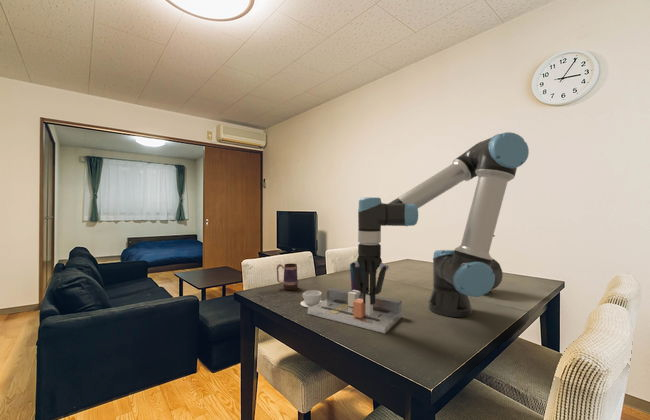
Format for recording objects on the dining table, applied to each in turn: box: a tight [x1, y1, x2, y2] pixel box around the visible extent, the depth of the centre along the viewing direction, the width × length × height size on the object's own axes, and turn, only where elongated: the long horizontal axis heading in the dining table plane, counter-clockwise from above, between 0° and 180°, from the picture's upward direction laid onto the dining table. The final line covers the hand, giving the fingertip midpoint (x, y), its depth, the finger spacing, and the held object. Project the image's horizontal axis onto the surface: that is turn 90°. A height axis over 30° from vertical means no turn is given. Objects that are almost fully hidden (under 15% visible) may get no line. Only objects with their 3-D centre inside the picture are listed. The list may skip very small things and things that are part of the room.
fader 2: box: [353, 298, 366, 318], centre depth 99 cm, size 3×4×5 cm
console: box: [307, 287, 403, 334], centre depth 105 cm, size 30×16×6 cm, turn 57°
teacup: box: [299, 289, 323, 308], centre depth 118 cm, size 10×10×5 cm
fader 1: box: [348, 290, 360, 307], centre depth 109 cm, size 3×4×5 cm
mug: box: [276, 263, 299, 291], centre depth 140 cm, size 10×7×12 cm
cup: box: [349, 263, 363, 293], centre depth 123 cm, size 7×7×15 cm
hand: (369, 313), depth 97 cm, fingers closed
